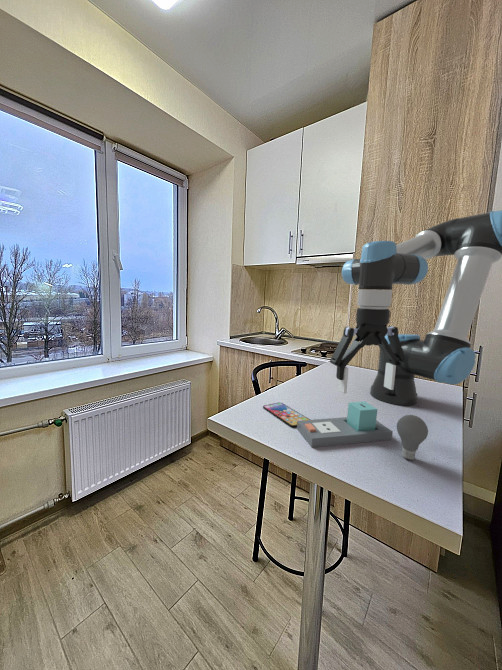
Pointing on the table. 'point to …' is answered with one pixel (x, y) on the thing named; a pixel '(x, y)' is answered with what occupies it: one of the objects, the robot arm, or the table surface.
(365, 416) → the block
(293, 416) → the smartphone
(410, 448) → the light bulb
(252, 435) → the table surface
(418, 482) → the table surface
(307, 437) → the power strip
